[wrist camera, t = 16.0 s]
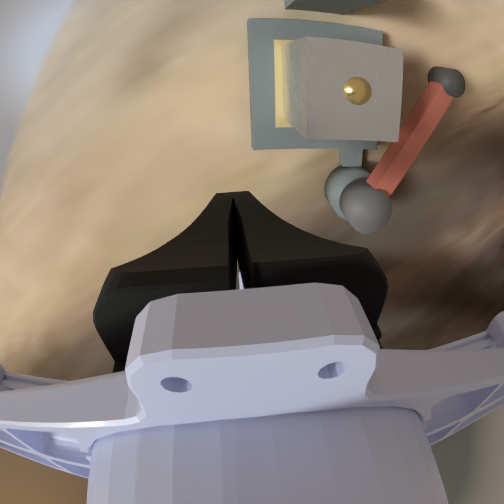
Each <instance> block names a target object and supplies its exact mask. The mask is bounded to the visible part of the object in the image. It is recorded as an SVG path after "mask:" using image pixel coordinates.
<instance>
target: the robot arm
mask: <svg viewBox="0 0 504 504" xmlns="http://www.w3.org/2000/svg"><path fill="white" fill-rule="evenodd" d="M237 259H238V264H239V269H240V272H239V284H240V289H239V290H236V277H237ZM387 290H388V284H387V278H386V276H385V275H384V273H383V271H382V270H381V268H380V266H379V265H378V263H377V261H376V260H375V258H374V257H373V255H372V254H371V253H370V251H369V250H368V249H367V248H362V247H357V246H352V245H346V244H341V243H338V242H334V241H331V240H327V239H324V238H321V237H318V236H315V235H313V234H310V233H308V232H305V231H303V230H301V229H299V228H297V227H295V226H293V225H291V224H289V223H287V222H286V221H284V220H282V219H281V218H279V217H278V216H277V215H275V214H274V213H272V212H271V211H270V210H268V209H267V208H266V207H265V206H264V205H263V204H261V203H260V202H259V201H258V200H257V199H256V198H255V197H254V196H253V195H252V194H251V193H250V192H249V191H242V192H228V193H216V194H215V196H214V197H213V198H212V200H211V201H210V203H209V204H208V205H207V207H206V208H205V209H204V210H203V212H202V213H201V214H200V215H199V216H198V218H197V219H196V220H195V221H194V222H193V223H192V224H191V225H190V226H189V227H188V228H186V229H185V230H184V231H183V232H182V233H180V234H179V235H178V236H176V237H175V238H174V239H172V240H170V241H169V242H167V243H166V244H164V245H163V246H161V247H160V248H158V249H156V250H154V251H152V252H150V253H148V254H146V255H144V256H142V257H140V258H138V259H136V260H133V261H130V262H128V263H125V264H123V265H120V266H117V267H114V268H111V270H110V272H109V274H108V276H107V278H106V280H105V282H104V284H103V287H102V289H101V292H100V295H99V297H98V300H97V303H96V305H95V308H94V311H93V322H94V324H95V327H96V330H97V332H98V334H99V335H100V337H101V339H102V341H103V342H104V344H105V346H106V348H107V349H108V351H109V353H110V354H111V356H112V358H113V359H114V361H115V364H114V369H113V373H111V374H106V375H101V376H96V377H91V378H86V379H81V380H75V381H64V380H56V379H48V378H41V377H35V376H28V375H23V374H17V373H12V372H6V371H5V369H4V368H3V367H2V365H1V364H0V447H1V448H3V449H6V450H8V451H11V452H13V453H15V454H18V455H20V456H23V457H26V458H28V459H31V460H33V461H36V462H39V463H41V464H44V465H47V466H50V467H53V468H56V469H59V470H62V471H65V472H68V473H71V474H75V475H78V476H81V477H85V478H89V481H88V492H87V504H449V503H448V500H447V496H446V493H445V490H444V486H443V483H442V480H441V477H440V474H439V471H438V468H437V465H436V462H435V459H434V456H433V453H432V450H431V447H430V445H432V444H434V443H436V442H438V441H440V440H442V439H444V438H446V437H448V436H450V435H452V434H453V433H455V432H457V431H459V430H461V429H462V428H464V427H466V426H468V425H470V424H471V423H473V422H475V421H476V420H478V419H480V418H481V417H483V416H484V415H486V414H488V413H490V412H491V411H493V410H494V409H496V408H497V407H499V406H501V405H502V404H504V311H503V312H501V313H499V314H498V315H497V316H495V318H494V319H493V320H492V322H491V323H490V325H489V327H488V329H487V331H484V332H482V333H479V334H476V335H473V336H470V337H467V338H464V339H462V340H458V341H455V342H452V343H449V344H446V345H443V346H439V347H436V348H433V349H429V350H393V349H382V346H381V344H380V342H379V340H378V339H380V338H381V331H380V329H379V327H378V325H377V322H378V319H379V316H380V313H381V311H382V308H383V305H384V302H385V299H386V295H387Z"/></svg>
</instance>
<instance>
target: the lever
mask: <svg viewBox="0 0 504 504" xmlns="http://www.w3.org/2000/svg"><path fill="white" fill-rule="evenodd" d="M428 83H429V84H428V86H427V87H426V89H425V91H424V92H423V94H422V96H421V97H420V99H419V100H418V102H417V104H416V105H415V107H414V109H413V110H412V112H411V113H410V115H409V116H408V118H407V120H406V121H405V123H404V124H403V126H402V127H401V129H400V131H399V138H398V142H392V143H391V144H390V146H389V148H388V149H387V151H386V152H385V154H384V155H383V157H382V158H381V160H380V161H379V163H378V164H377V166H376V167H375V168H374V170H373V171H372V173H371V174H370V176H369V177H368V179H367V180H366V179H358V180H354V181H352V182H351V183H349V184H348V185H347V186H346V187H345V188H344V189H343V191H342V192H341V195H340V198H339V206H340V209H341V211H342V213H343V214H344V215H345V217H346V218H347V220H348V221H349V222H350V224H351V225H352V227H353V228H354V229H355V230H356V231H357V232H359V233H362V234H372V233H375V232H377V231H379V230H381V229H382V228H383V227H384V226H385V225H386V224H387V223H388V221H389V219H390V217H391V214H392V204H391V201H390V199H389V197H390V195H391V194H392V192H393V191H394V190H395V188H396V187H397V185H398V184H399V182H400V181H401V180H402V178H403V177H404V175H405V174H406V172H407V171H408V169H409V168H410V166H411V165H412V163H413V162H414V160H415V159H416V157H417V156H418V154H419V153H420V151H421V150H422V148H423V147H424V145H425V143H426V142H427V140H428V139H429V137H430V136H431V134H432V132H433V131H434V129H435V128H436V126H437V124H438V123H439V121H440V120H441V118H442V116H443V115H444V113H445V111H446V110H447V108H448V106H449V105H450V103H451V101H452V99H453V98H454V97H455V98H457V97H460V96H461V95H462V94H463V93H464V90H465V80H464V77H463V75H462V74H461V73H460V72H459V71H458V70H455V69H449V68H443V67H433V68H431V69H430V71H429V73H428Z"/></svg>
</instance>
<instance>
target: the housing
mask: <svg viewBox="0 0 504 504" xmlns="http://www.w3.org/2000/svg"><path fill="white" fill-rule="evenodd" d="M281 54H282V89H283V119H284V120H285V121H286V122H287V123H289V124H290V125H291V126H292V127H293V128H294V129H295V130H296V131H298V132H299V133H300V134H301V135H302V136H303V137H304V138H305V139H306V140H365V141H385V142H398V138H399V128H400V117H401V103H402V85H403V50H401V49H396V48H392V47H387V46H381V45H376V44H370V43H364V42H357V41H350V40H342V39H333V38H322V37H308V36H305V37H302V38H299V39H297V40H294V41H291V42H289V43H286V44H284V45H281Z"/></svg>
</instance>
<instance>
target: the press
mask: <svg viewBox="0 0 504 504" xmlns="http://www.w3.org/2000/svg"><path fill="white" fill-rule="evenodd" d="M382 1H386V0H285V9H295V10H308V11H318V12H327V13H335V14H342V15H343V14H345V13H348V12H351V11H354V10H357V9H360V8H363V7H366V6H369V5H372V4H376V3H379V2H382ZM247 30H248V57H249V84H250V112H251V140H252V148H253V150H263V149H296V148H338V149H340V160H339V163H340V164H341V165H340V166H338V167H337V168H335V169H334V170H333V171H332V172H331V173H330V174H329V176H328V178H327V180H326V183H325V196H326V198H327V200H328V202H329V203H330V205H331V206H332V208H333V209H334V210H335V212H336V213H337V215H338V216H339V217H341V218H342V219H344V220H347V218H346V217H345V215H344V214H343V213H342V211H341V209H340V206H339V198H340V195H341V192H342V191H343V189H344V188H345V187H346V186H347V185H348V184H349V183H351V182H352V181H354V180H358V179H366V180H367V179H368V177H369V176H370V173H369V172H368V171H367V170H366V169H364V168H363V167H362V166H361V165H362V155H363V149H370V150H377V143H378V141H365V140H306V139H305V138H304V137H303V136H302V135H301V134H300V133H299V132H298V131H296V130H295V129H294V128H293V127H292V126H291V125H290V124H289V123H287V122H286V121H285V120H284V119H283V89H282V54H281V45H284V44H286V43H289V42H291V41H294V40H297V39H299V38H302V37H305V36H308V37H322V38H333V39H342V40H350V41H357V42H364V43H370V44H376V45H381V46H383V31H378V30H373V29H368V28H363V27H357V26H351V25H344V24H337V23H329V22H320V21H309V20H295V19H267V18H254V19H248V21H247ZM347 221H348V220H347Z"/></svg>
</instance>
